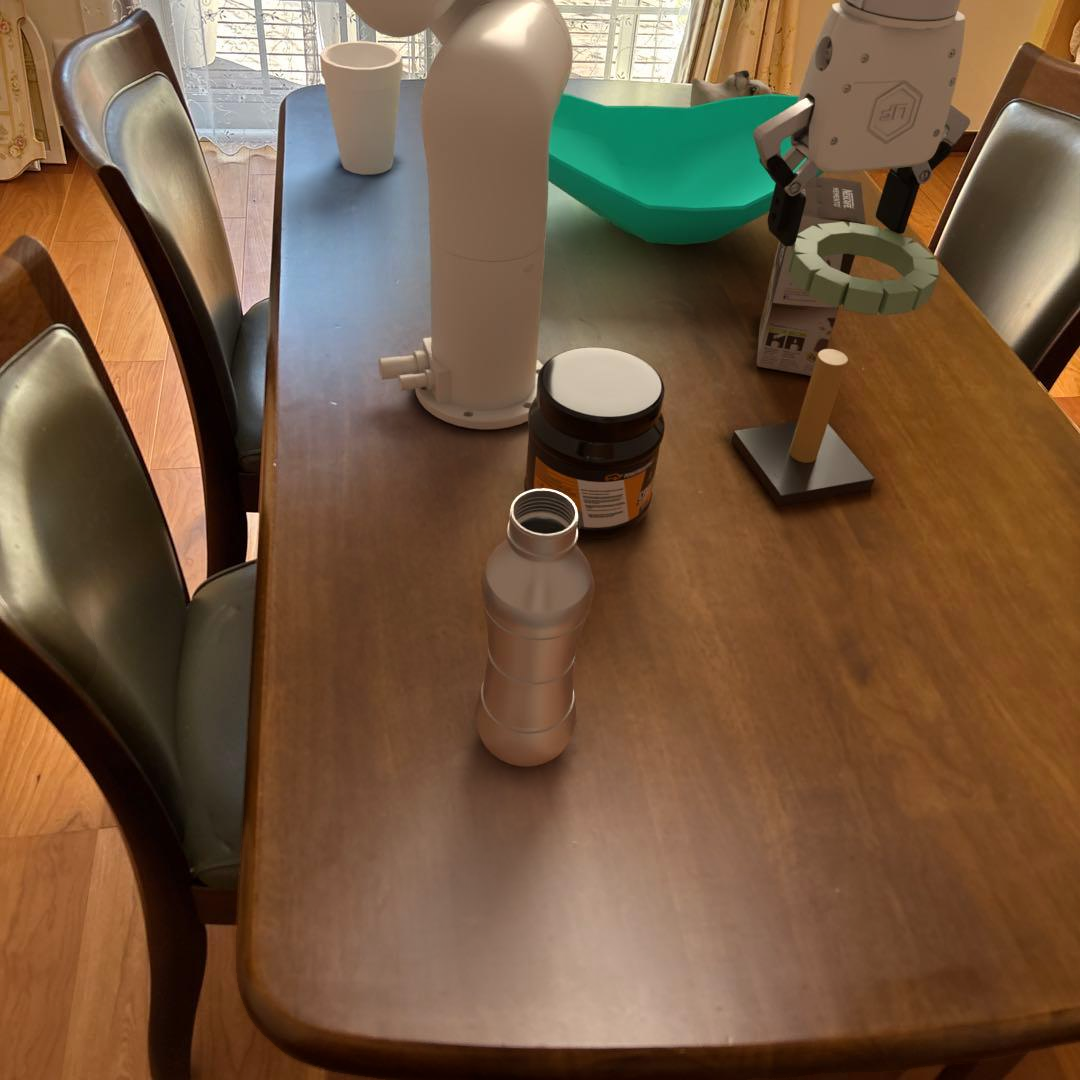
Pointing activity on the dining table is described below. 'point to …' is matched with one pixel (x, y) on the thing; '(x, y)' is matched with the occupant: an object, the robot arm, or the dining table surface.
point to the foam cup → (363, 102)
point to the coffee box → (790, 313)
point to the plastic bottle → (533, 630)
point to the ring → (859, 291)
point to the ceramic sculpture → (727, 88)
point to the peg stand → (806, 445)
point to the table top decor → (666, 164)
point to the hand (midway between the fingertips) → (835, 231)
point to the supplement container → (597, 436)
